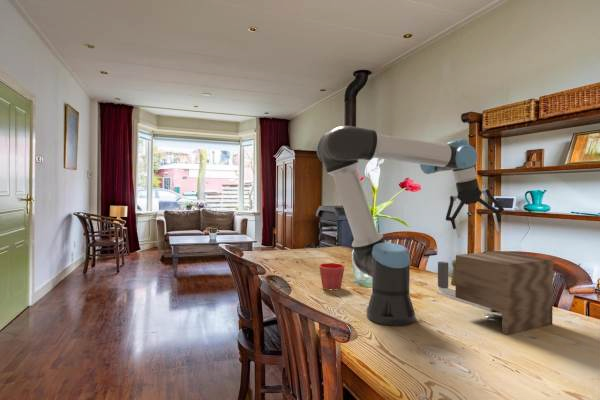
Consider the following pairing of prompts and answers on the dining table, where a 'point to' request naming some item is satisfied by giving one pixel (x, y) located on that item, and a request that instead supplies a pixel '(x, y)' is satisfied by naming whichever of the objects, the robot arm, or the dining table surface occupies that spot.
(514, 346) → the dining table surface
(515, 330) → the walnut cabinet
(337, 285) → the flower pot
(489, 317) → the steel disc
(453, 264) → the cork
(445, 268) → the scraper
